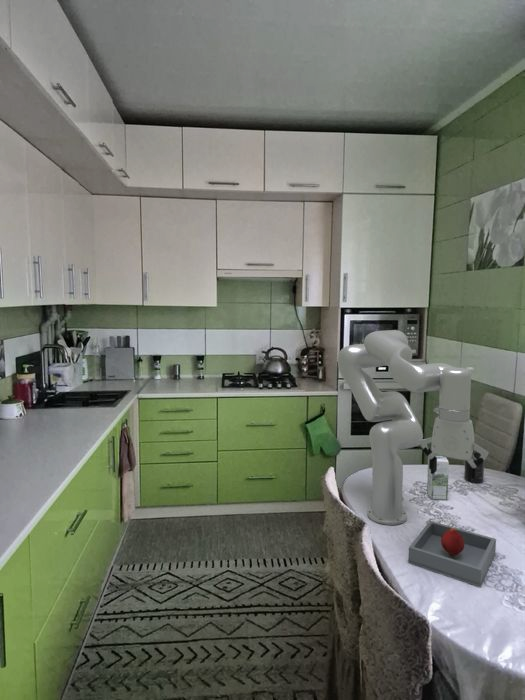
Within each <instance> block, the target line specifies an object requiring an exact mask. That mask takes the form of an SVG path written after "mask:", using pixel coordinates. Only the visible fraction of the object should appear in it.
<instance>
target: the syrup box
mask: <svg viewBox="0 0 525 700" xmlns="http://www.w3.org/2000/svg"><path fill="white" fill-rule="evenodd" d="M436 458H437V471H436V472H435V473H434V474H431V469H429V459H428V458H427V484H426V485H427V486H426V487H427V489H426V492H427V493H426V494H427V495H428V497H429V498H430V499H431V500H433V501H434V500H435V501H440V500H441V501H443V500H444V501H448V500H449V499H448V498H449V497H448V494H449V493H448V492H449V472H450V468H449V467H450V462H449V459H448V458H447V457H443V456H438V455H436Z"/></svg>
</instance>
